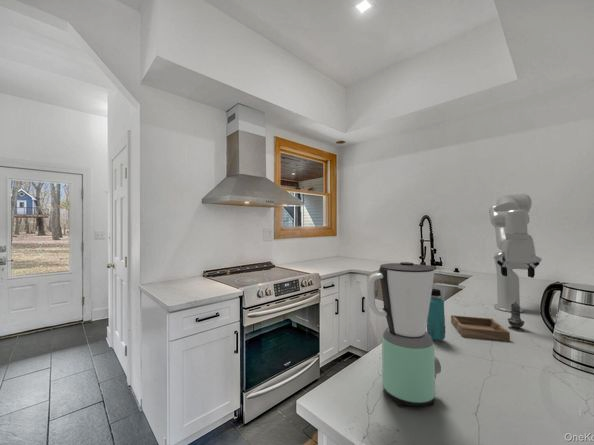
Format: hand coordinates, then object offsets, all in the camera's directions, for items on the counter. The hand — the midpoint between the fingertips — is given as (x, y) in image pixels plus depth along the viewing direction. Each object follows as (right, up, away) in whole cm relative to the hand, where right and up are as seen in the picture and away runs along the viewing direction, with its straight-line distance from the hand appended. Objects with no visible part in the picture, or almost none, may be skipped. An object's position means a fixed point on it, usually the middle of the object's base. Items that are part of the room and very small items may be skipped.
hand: (517, 276), depth 116 cm
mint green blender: (-68, -22, -46) cm, 85 cm away
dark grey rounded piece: (-1, -23, 0) cm, 23 cm away
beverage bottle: (-42, -23, -12) cm, 49 cm away
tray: (-20, -23, -3) cm, 30 cm away
